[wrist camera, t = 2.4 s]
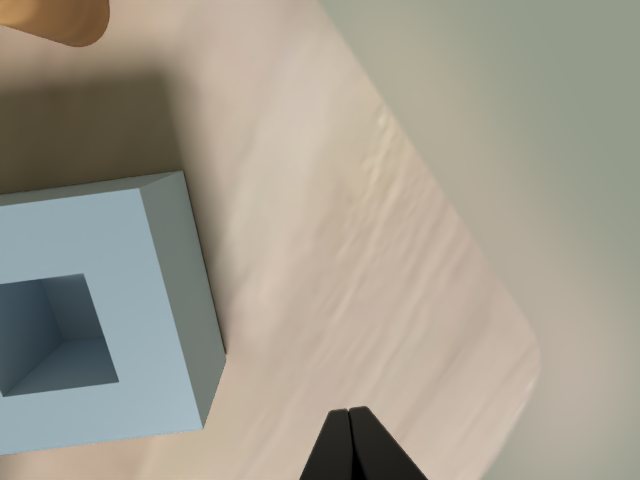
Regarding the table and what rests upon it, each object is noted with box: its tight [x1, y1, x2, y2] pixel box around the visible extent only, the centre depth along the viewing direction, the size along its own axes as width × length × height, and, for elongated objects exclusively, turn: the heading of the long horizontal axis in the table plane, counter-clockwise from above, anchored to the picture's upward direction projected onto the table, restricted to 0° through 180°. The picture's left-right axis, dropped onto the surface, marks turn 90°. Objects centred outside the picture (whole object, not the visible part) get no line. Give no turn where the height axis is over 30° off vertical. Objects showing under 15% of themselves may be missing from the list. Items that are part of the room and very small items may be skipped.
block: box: [0, 170, 226, 455], centre depth 17 cm, size 10×10×5 cm
